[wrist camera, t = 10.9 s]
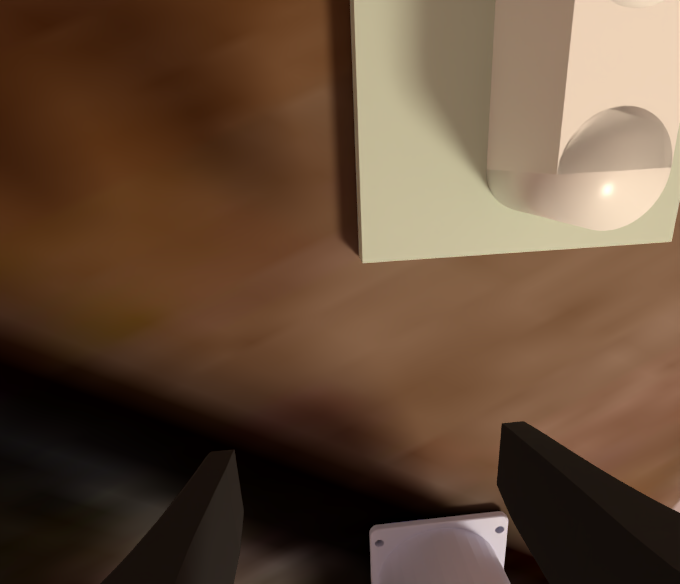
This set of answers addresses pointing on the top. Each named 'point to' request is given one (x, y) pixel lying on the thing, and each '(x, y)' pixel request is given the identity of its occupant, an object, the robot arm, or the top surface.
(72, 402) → the top surface
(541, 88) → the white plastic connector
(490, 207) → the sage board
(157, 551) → the robot arm
